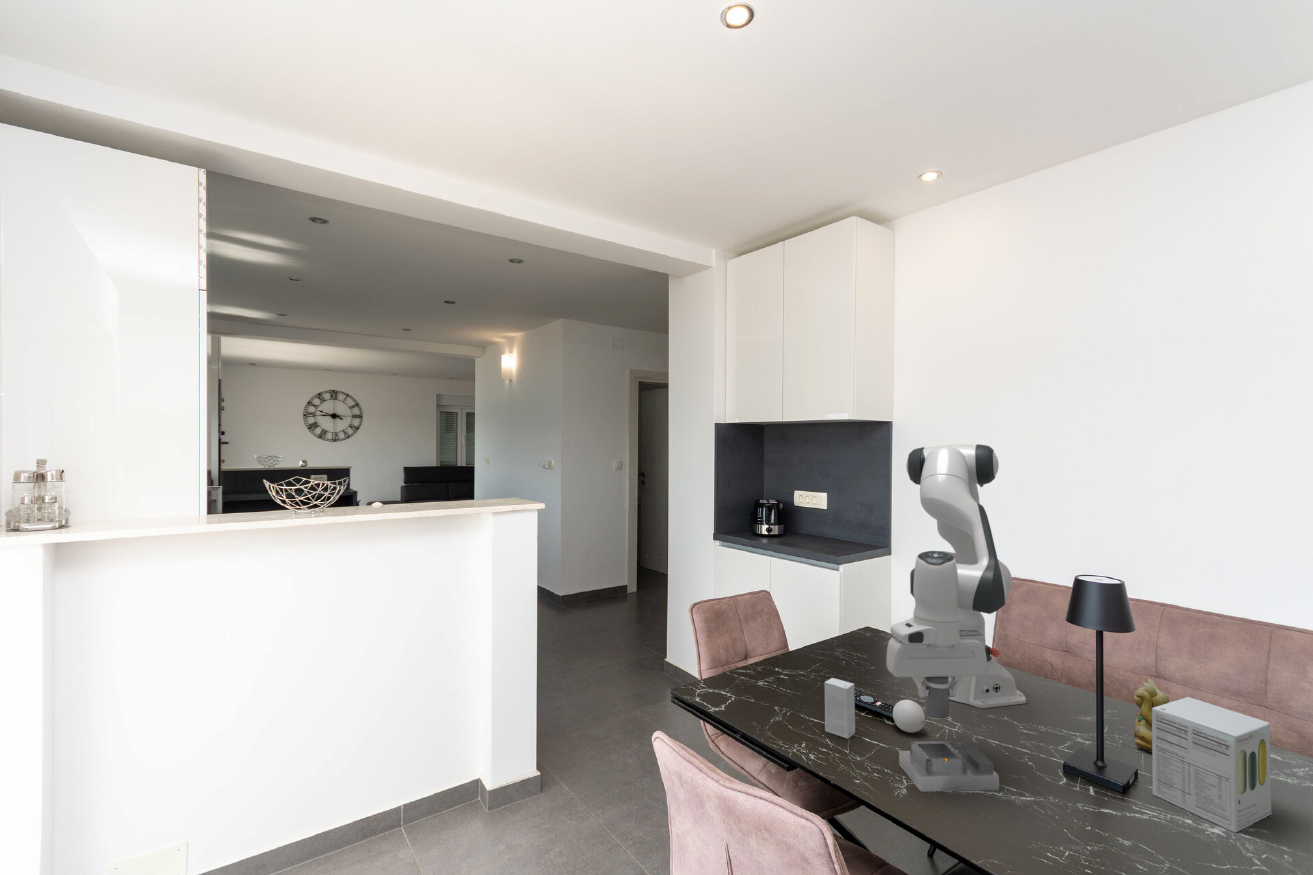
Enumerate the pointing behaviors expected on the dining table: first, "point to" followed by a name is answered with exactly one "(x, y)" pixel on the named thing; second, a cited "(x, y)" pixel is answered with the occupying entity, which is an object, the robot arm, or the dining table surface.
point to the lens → (937, 697)
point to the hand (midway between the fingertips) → (936, 696)
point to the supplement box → (1212, 762)
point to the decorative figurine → (1147, 712)
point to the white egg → (908, 716)
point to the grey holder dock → (948, 767)
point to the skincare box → (839, 708)
